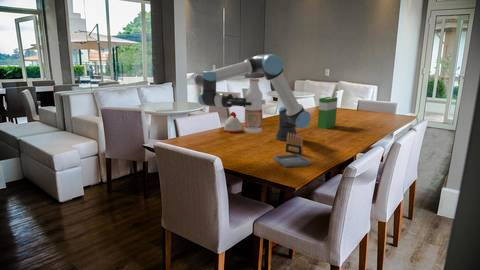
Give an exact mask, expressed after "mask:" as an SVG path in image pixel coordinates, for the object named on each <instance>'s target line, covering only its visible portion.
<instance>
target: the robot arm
mask: <svg viewBox="0 0 480 270" xmlns="http://www.w3.org/2000/svg"><path fill="white" fill-rule="evenodd" d="M283 63H284V62H283V60H282V58H281V57H280V55H278V54H274V53H267V54H266V53H265V54H262V53H261V54H257V55H255V56H252V57H250V58H245V59H244V61H242V62H238V63H234V64H231V65H227V66H224V67H220V68H217V69H213V70H204V71H202V72H200V73H197V74H196V75H195V76H194V80H193V81H194V84H195V85H196V86H199V87H201V88H202V91H201V92H200V93H199V95H198V102H199V104H200V105H202V106H206V107H218V108H219V109H220V108H232V107H233V106H236V107H238V106H239V107H242V108H245V105H246V106H251V107H258V102H257V101H246V98H245V97H237V96H235V97H234V96H233V94H231V93H224V92H223V93H222V92H221V93H220V92H217V83H220V82H224V81H227V80H229V79H233V78H236V77H239V76H244V75H247V74H248V75H253V74H263V76H264V77H265V79H266V81H269V82H270V83H271V85H272V86H273V88H274V90H275V92H276V94H277V95H278V97H279V99H280V101H281V103H282V104H283V106H280V107H279V109H278V128H277V130H276V134H275V139H276V140H279V141H284V142H285V141H286V142H287V136H288V132H289V138H290V134H291V133H292V138H293V133H294V135H296V134H297V129H301V130H302V129H305V128H307V127H309V125H310V124H311V120H312V116H311V115H312V114H311V113H310V112H309V111H307V110H305V108H304V106H303V105H302V104H300V103H299V102H298V100H297V98H296V96H295V95H294V92H293V90H292V88H291V87H290V85H289V83H288V82H287V79H286V77H285V75H284V74H283V72H284V69H283V67H284V64H283ZM266 101H267V100H266V99H265V98H264V99H263V98H262V101H261V102H262V106H264V105H266ZM296 128H297V129H296ZM297 135H298V134H297Z"/></svg>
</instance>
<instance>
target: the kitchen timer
mask: <svg viewBox="0 0 480 270" xmlns="http://www.w3.org/2000/svg"><path fill="white" fill-rule="evenodd" d="M224 131H225V132H224ZM241 131H243V127H242V122H241V121H240V120H239V118H238V117H237V114H236V112H234V111H231V112H230V114H229V117H228V118H227V119H226V120H225V122H224V127H223V132H224V133H227V132H229V134H238V133H237V132H239V133H242V132H241Z"/></svg>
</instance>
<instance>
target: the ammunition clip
mask: <svg viewBox="0 0 480 270" xmlns="http://www.w3.org/2000/svg"><path fill="white" fill-rule="evenodd" d="M303 147H304V146H303V134H301V135H300V134H296V135H294V133H293V138H292V133H291V134H290V138H289V132H288V136H287V141H286V144H285V152H286V153H290V154H298V155H300V156H302V155H303V153H304V149H303Z"/></svg>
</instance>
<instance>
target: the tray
mask: <svg viewBox="0 0 480 270" xmlns="http://www.w3.org/2000/svg"><path fill="white" fill-rule="evenodd" d="M273 160H274V161H275V162H276V163H278V164H279V165H281V166H283V167H284V168H286V169H287V168H294V167H304V166H311V161H310V160H309V159H307V158H305V157H304V156H302V155H299V154H295V153H290V154H282V155H280V154H279V155H273Z"/></svg>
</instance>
